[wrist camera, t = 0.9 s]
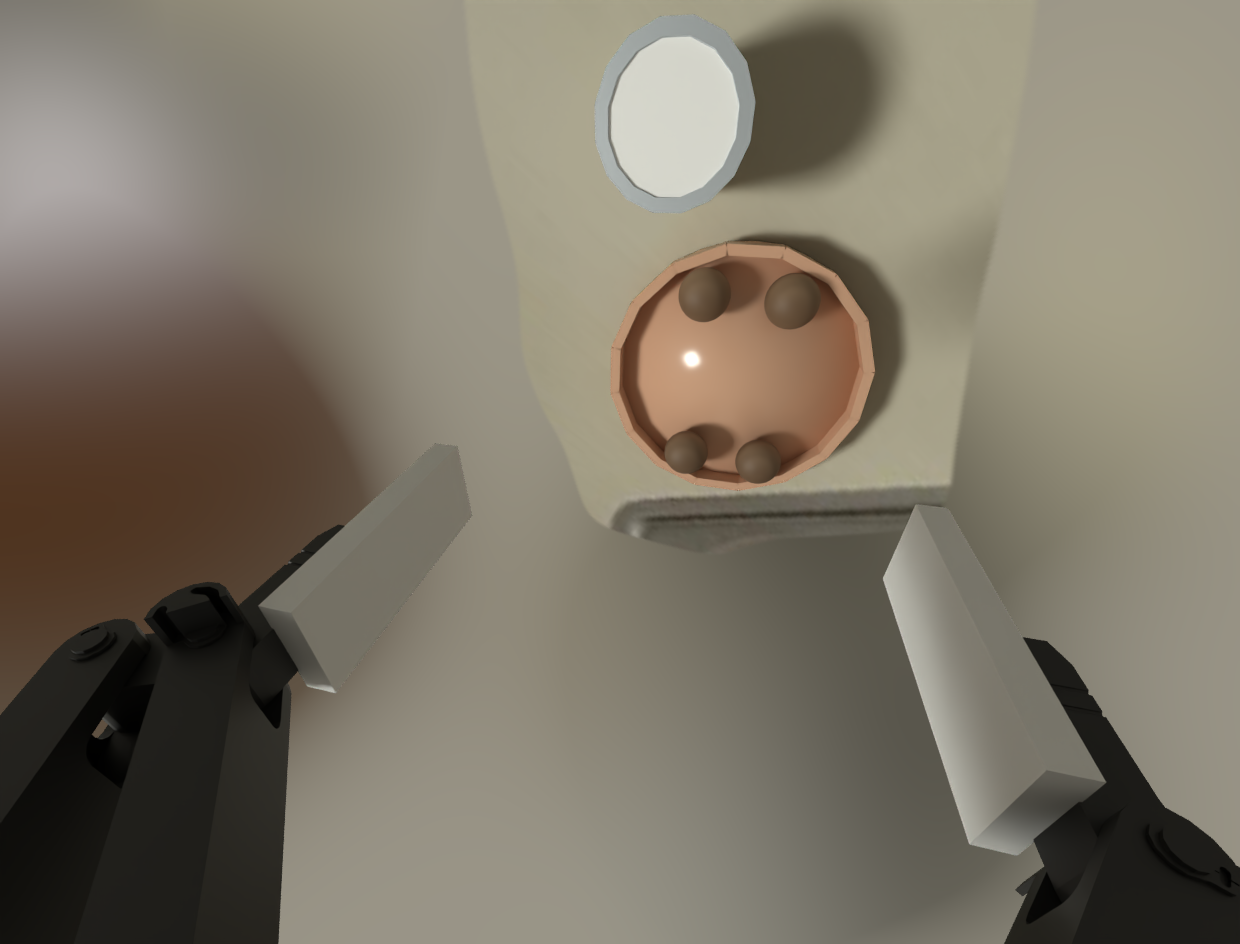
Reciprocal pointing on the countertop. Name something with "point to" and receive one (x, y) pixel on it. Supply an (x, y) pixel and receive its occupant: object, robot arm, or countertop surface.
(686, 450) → the bead
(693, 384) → the tray
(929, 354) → the countertop surface
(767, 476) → the bead
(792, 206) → the countertop surface
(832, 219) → the countertop surface
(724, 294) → the bead
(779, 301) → the bead
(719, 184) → the white cup
